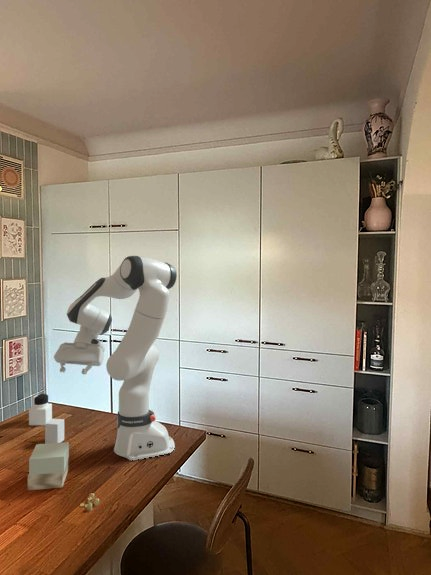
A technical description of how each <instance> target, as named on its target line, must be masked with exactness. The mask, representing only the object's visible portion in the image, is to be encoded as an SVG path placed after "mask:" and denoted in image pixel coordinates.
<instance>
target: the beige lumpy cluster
mask: <svg viewBox="0 0 431 575" xmlns="http://www.w3.org/2000/svg"><path fill="white" fill-rule="evenodd" d="M93 505H94V506H96V507H97V506H99V505H100V499H99V498H97V497H95V493H91V492H90V493H89V495H88V497H87V504H85V503H80V505H79V506H80V508H84V507H85V509H86V511H88V512H90V511H92V510H93Z"/></svg>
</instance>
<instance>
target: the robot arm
mask: <svg viewBox="0 0 431 575" xmlns="http://www.w3.org/2000/svg"><path fill="white" fill-rule="evenodd" d="M177 278H178V277H177V270H176V268H175V267H174V266H173V265H172V264H170V263H168V262H164V261H160V260H157V259H154V258H151V257H146V256H143V257H142V256H139V255H129V256H126V257H125V258H124V259H123V260H122V262H121V264H120V265H119V266H118V267H117V268H116V270H115V271H114V272H113V274H111V275H110V276H106V277H100V278H98V279H97V280H96V281H95V282H94V283H93V284H92V285H90V287H89V288H88V289H86V291H84V293H83V294H81V295H80V296H79V297H78V298H76V299H75V300H74V301H73V302H72V303H70V305H69V306H68V309H67V312H66V316H67V318H68V320H69V322H70V323H73V324H76V325H79V326H80V327H79V331H78V332H77V334H76V336H75V338H74V341H73V342H63V343H61V344H60V345H59V347H58V349H57V350H56V352H55V354H54V355H53V359H54V361H55V362H56V363H58V364H59V365H60V367H59V372H60V373H65V372H66V367H65V366H66V365H67V364H69V365H79V366H85V368H82V369H81V374H82V375H87V372H88V371H89V370H91V369H92V368H93V367H101V365H102V364H103V362H104V357H105V351H106V349H105V346H104V344H103V342H102V341H101V340H99V339H98V337H99V336H102V335H104V334H106V333H107V332H108V331H109V330H110V327H111V324H112V321H113V318H112V315H111V313H109V312H107V310H106V311H105V310H104V309H102V308H99V307H97V306H95V305H92V304H91V303H92V302H93V301H94V300H95V299H96V298H98V297H105V298H106V297H107V298H112V299H116V300H126V299H129V298H130V297H132V296H133V295H134V294H135V293H136V292H137V290H138V291H139V297H138V300H137V303H136V305H135V308H134V312H133V315H132V317H131V320H130V324H129V326H128V328H127V330H126V332H125V334H124V336H123V337H122V339H121V341H120V342H119V344H118V346H117V347H116V349H115V351H114V352H112V354H111V355H110V356H109V357H108V359H107V361H106V364H105V366H106V372H107V374H108V375H109V377H110V378H111V379H112V380H115V381H123V383H122V385H121V386H120V388H119V391H118V411H117V414H116V426H117V433H116V439H115V445H114V448H113V452H114V453H115V454H116V455H118V456H120V457H123V458H126V459H127V460H128V461H132V460H133V461H139V460H145V459H144V458H146V459H150V458H149V457H152V458H156V457H155V456H158V457H160V456H159V455H164V454H168V453H171V452H172V451H173V450H174V451H175V449H176V446H175V444H176V443H175V441H174V439H173V438H172V437H171V436H169V435H170V434H169V432H168V429H167V428H166V427H165V425H163V424H162V423H160V422H159V421H157V420H156V419H157V418H156V415H155V412H154V410H153V409H149V408H150V405H149V404H150V387H151V384H152V378H153V374H154V371H155V367H156V365H157V363H158V362H159V359H160V352H159V349H158V348H157V347H156V345H154V343H155V342H156V340H157V339H158V337H159V335H160V333H161V329H162V326H163V324H164V320H165V319H166V318H165V317H166V314H167V311H168V308H169V302H170V297H171V296H170V295H171V294H170V291H169V290H170V289H171V288H173V287H174V286H175V284H176V281H177ZM174 448H175V449H174ZM164 456H165V455H164ZM138 459H139V460H138Z"/></svg>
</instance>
